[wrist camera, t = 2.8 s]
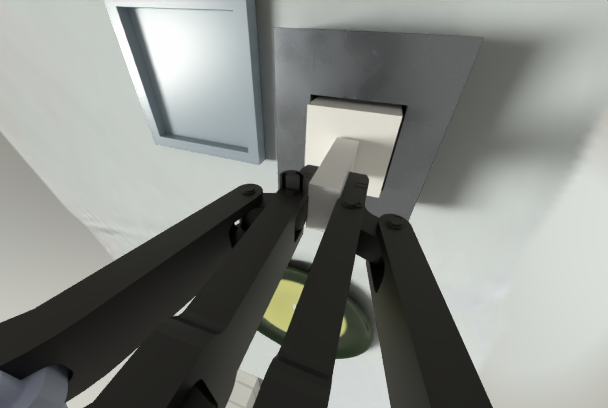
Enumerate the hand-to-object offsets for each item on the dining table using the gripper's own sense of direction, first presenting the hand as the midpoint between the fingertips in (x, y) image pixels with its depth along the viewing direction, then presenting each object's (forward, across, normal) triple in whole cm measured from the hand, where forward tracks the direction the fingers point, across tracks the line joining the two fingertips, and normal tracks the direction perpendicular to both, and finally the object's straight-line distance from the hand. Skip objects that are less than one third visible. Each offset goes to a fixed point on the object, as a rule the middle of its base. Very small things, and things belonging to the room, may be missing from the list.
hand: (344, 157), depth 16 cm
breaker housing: (+7, 0, 0) cm, 7 cm away
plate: (+8, -5, -35) cm, 36 cm away
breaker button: (+6, 0, 0) cm, 6 cm away
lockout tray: (+7, -17, +2) cm, 18 cm away
